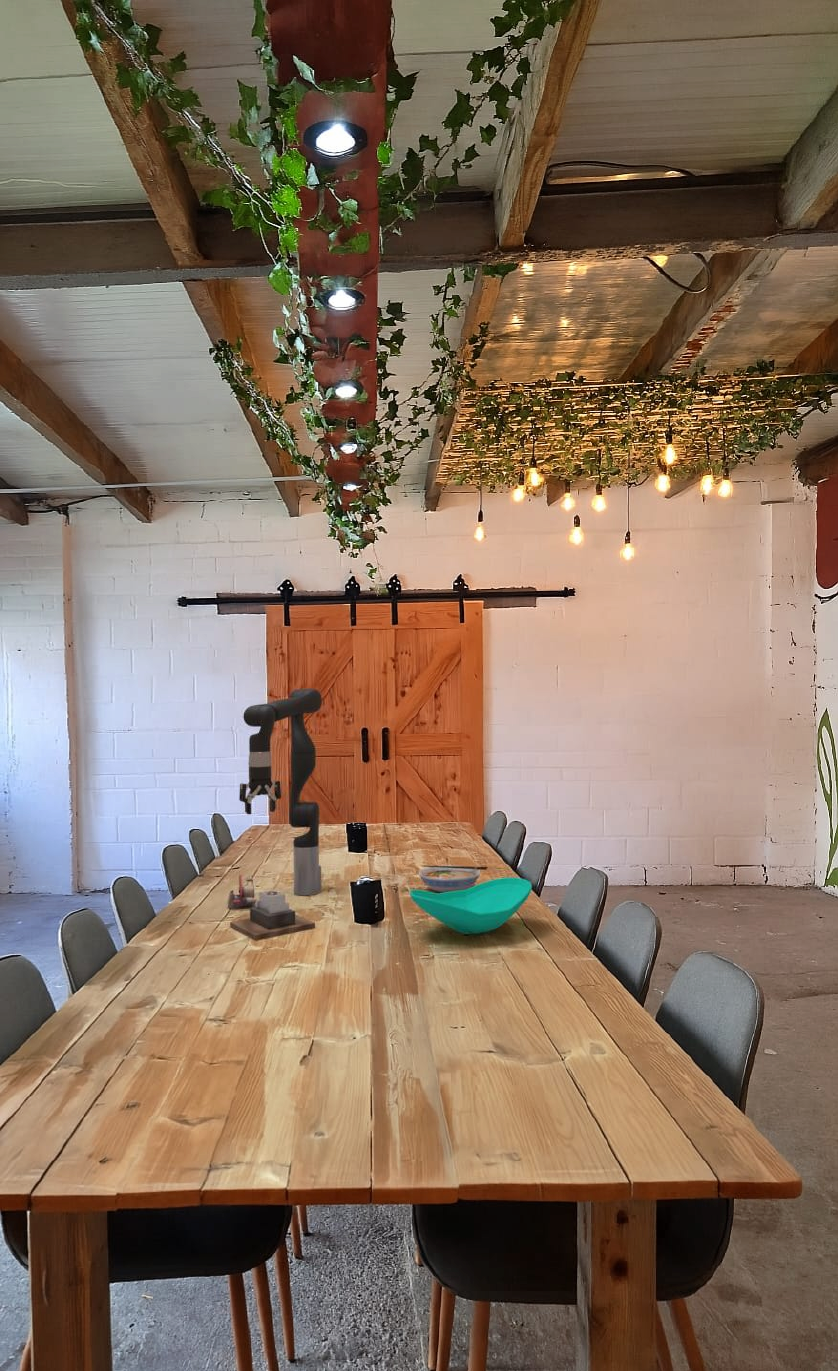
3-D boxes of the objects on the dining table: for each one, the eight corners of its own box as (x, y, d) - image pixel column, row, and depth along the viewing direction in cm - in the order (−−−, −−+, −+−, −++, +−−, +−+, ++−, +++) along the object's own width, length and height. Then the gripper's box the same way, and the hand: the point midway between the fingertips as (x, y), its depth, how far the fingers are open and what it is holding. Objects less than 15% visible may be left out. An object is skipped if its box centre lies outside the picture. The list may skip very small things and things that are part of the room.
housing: (288, 911, 240) (288, 894, 240) (270, 914, 236) (269, 897, 236) (274, 904, 248) (274, 888, 248) (255, 908, 244) (255, 891, 244)
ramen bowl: (407, 897, 276) (407, 874, 277) (425, 883, 298) (425, 861, 298) (476, 902, 269) (475, 878, 269) (489, 886, 291) (489, 864, 291)
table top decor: (434, 954, 214) (434, 905, 214) (393, 928, 239) (393, 885, 239) (553, 933, 231) (552, 889, 232) (503, 911, 256) (503, 871, 256)
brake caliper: (220, 897, 271) (241, 868, 273) (245, 914, 273) (266, 885, 275) (220, 905, 260) (242, 875, 262) (247, 923, 262) (269, 893, 264)
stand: (287, 915, 255) (287, 898, 255) (315, 927, 241) (314, 909, 241) (230, 927, 243) (230, 909, 243) (255, 940, 229) (255, 921, 229)
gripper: (245, 767, 255) (245, 816, 255) (284, 764, 264) (284, 812, 263) (235, 765, 261) (236, 814, 261) (274, 762, 269) (274, 809, 269)
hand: (260, 813), depth 262 cm, fingers open, 8 cm apart
